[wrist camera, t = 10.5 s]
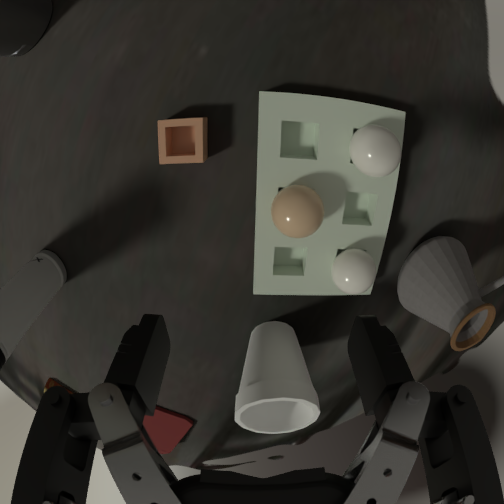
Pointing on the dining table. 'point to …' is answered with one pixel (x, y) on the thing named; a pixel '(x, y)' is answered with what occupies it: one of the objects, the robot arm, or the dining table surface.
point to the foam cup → (275, 383)
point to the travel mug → (27, 298)
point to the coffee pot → (446, 291)
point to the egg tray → (318, 189)
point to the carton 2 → (166, 428)
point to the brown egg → (297, 211)
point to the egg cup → (183, 140)
